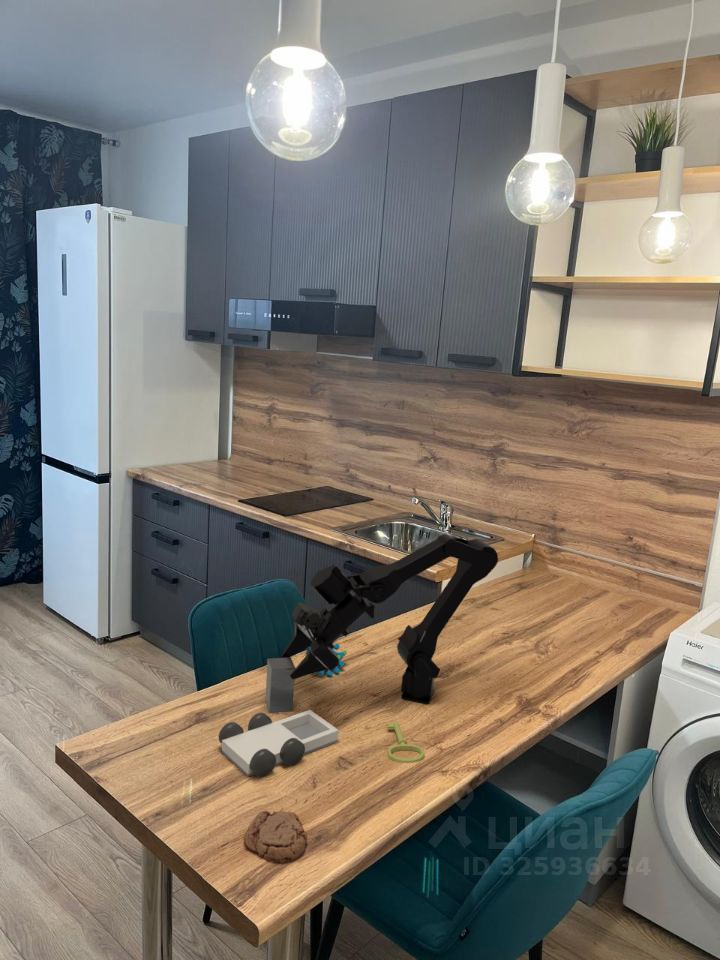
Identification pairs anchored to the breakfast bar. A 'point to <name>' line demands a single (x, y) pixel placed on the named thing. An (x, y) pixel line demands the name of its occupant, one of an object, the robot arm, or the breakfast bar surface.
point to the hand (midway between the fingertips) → (286, 667)
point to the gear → (341, 663)
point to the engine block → (279, 685)
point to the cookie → (276, 836)
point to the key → (403, 746)
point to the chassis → (275, 741)
